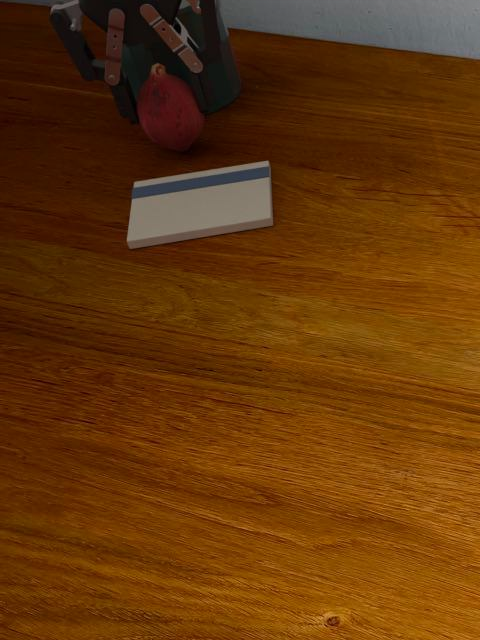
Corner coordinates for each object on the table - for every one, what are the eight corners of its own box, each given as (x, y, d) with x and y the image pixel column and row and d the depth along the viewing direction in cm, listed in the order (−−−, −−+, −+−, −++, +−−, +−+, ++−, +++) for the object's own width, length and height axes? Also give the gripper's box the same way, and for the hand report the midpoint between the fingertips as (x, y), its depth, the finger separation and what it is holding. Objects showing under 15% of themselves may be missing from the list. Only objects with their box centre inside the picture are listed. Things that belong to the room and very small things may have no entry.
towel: (129, 249, 88) (125, 240, 87) (137, 189, 94) (133, 180, 94) (273, 226, 89) (270, 216, 88) (270, 168, 95) (268, 159, 95)
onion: (200, 167, 96) (172, 81, 90) (142, 166, 97) (110, 80, 91) (223, 136, 100) (197, 51, 94) (166, 135, 101) (137, 51, 95)
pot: (127, 141, 101) (89, 40, 94) (138, 68, 112) (104, -27, 104) (242, 123, 101) (213, 21, 94) (242, 53, 112) (215, -43, 105)
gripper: (194, -117, 87) (249, 85, 99) (15, -93, 85) (94, 108, 98) (191, -88, 82) (250, 121, 94) (2, -62, 80) (87, 146, 93)
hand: (170, 114), depth 96 cm, fingers closed on onion, 5 cm apart
